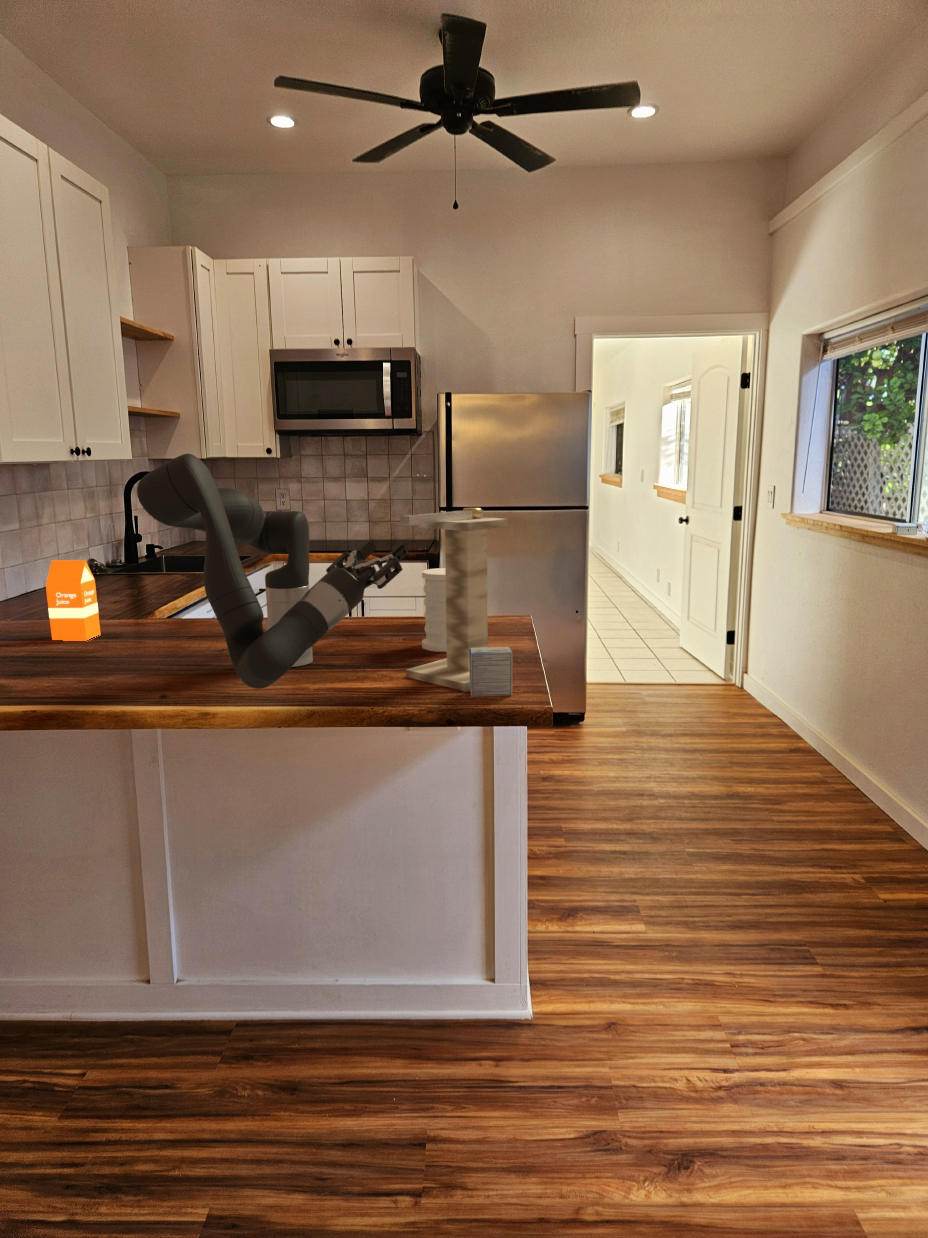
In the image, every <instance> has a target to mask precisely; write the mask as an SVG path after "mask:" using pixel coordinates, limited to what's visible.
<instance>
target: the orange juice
mask: <svg viewBox="0 0 928 1238" xmlns="http://www.w3.org/2000/svg"><path fill="white" fill-rule="evenodd" d="M49 565H50V566H49V570H48V575H47V578H46V579H47V580H46V584H45V589H46V590H45V591H46V599H47V606H48V608H47V610H48V618H49V623H50V633H51V634H50V635H51V639H52V640H63V641H87V640H89V639H91V638H93V637H95V638H97V637H99V636H101V626H100V616H99V606H98V605H99V603H98V599H97V589H96V588H97V587H96V580H95V577H94V575H93V573H92V570H91V569H90V567H89V565H88V562H87V561H86V559H60V560H59V559H57V560H54V559H52V560H51V563H50V564H49ZM98 635H99V636H98ZM96 636H97V637H96ZM93 639H94V638H93ZM52 640H51V641H52ZM91 640H92V639H91ZM89 641H90V640H89ZM87 642H88V641H87Z"/></svg>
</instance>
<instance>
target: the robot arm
mask: <svg viewBox="0 0 928 1238" xmlns="http://www.w3.org/2000/svg"><path fill="white" fill-rule="evenodd" d="M136 495H137V496H136V497H137V499H138V502H139V503H140V505H141V506H142V508H143V510H144V511H145V512H146V513H147V514H148V515H149V516H150V517H151V518H152V519H154V520H156V521H157V522H158V523H162V524H163V525H166V526H169V527H174V528H183V529H192V530H198V531H202V532H204V533H205V554H204V565H203V586H204V591H205V592H204V593H205V595H206V598H207V600H208V602H209V605H210V606H211V609H212V611H213V613H214V615H215V618H216V619H217V621H218V625H220V627H221V629H222V631H223V634H224V639H225V643H226V646H227V649H228V653H229V656H230V660H231V663H232V665H233V669H234V670H235V672H236V674H237V676H238V678H239V679H240V680H241V682H242V683H243V684H244V685H246V686H247V687H250V688H252V689H256V690H257V689H258V690H260V689H265V688H268V687H270V686H272V685H273V684H274V683H275V682H276V681H278V680H280V679H282V677H283V676H284V675H285V674H287V672H288V671H289V670H290V669H291V668H293V667H296V668H297V667H300V666H301V667H302V666H305V665H308V664H311V663H313V661H314V660H313V659H314V658H313V656H314V655H313V646H314V645H315V644H316V643H318V641H319V640H321V638H323V637H324V636H325V635H326V634H327V633H328V632H329V631H330V630H332V629H333V628H334V627H336V626H337V625H339V624H340V622H341V621H342V620H343V619H345V617H347V615H349V613H350V612H352V611H353V609H354V608H356V607H357V606H358V605H359V604H360V603H361V602H362V600H363V599H364V596H365V595H364V594H365V589H367V588H368V587H370V586H372V585H376V587H377V589H379V590H381V589H383V588H384V587H385V586H387V585H388V584H389V583H390V582H391V581H392V580H393V579H394V578H396V577H397V576H398V575H399V574H400V573H401V572H402V571H403V567H402V565H401V563H400V562H401V561H402V560H403V559H404V558H405V557H406V556H407V555H408V553H409V549H408V547H407V544H406V543H405V542H400V543H398V545H397V546H395V548H393V550H391V551H390V552H389V553H388V554H387V555H385V556H383V557H381V558H380V557H375V558H372V559H370V560H366V559H367V558H369V557H370V556H371V555H372V554H373V553H374V552H375V551H376V550H377V545H376V543H375V541H374V540H373V539H368V540H366V541H365V542H364V543H363V544H362V545H361V546H360V547H359V548H357V549H356V550H352V551H351V552H350V553H349V551H343V553H341V554H340V556H339V557H337V558H336V560H334V561H333V562H332V563H331V564H330V565H329V566H328V567H327V568H326V570H325V571H326V573H325V575H323V577H321V578H320V579H319V580H318V581H317V582H316V583H315V584H314V585H313V586H311V587H310V582H309V581H310V580H309V579H310V526H309V525H310V524H309V522H308V519H307V517H306V515H305V514H304V513H303V512H302V511H298V510H297V511H296V510H263V507H262V505H261V503H260V502H258V501H257V500H256V498H254V497H253V496H251V495H250V494H247V493H245V492H243V491H240V490H238V489H234V488H231V487H230V488H229V487H218V486H217V483H216V481H215V479H214V477H213V475H212V474H211V471H210V470H209V468H208V467H207V466H206V464H205V463H204V462H203V461H202V460H201V459H200V458H198V457H197V456H196V455H194V454H192V453H183V454H181V455H178V456H176V457H175V458H173V459H170V460H169V461H167V462H166V463H164V464H162V465H161V466H158V467H157V468H155V469H153V470H151V471H150V472H148V473H147V474H145V475H144V476H143V477H142V478H141V479H140V480H139V481H138V484H137V487H136ZM235 542H238V543H242V544H248V545H249V546H250V547H251V546H252V547H253V548H255V549H256V550H258V551H260V552H261V553H264V554H269V555H287V561H286V563H285V564H284V565H283V566H281V567H279V568H277V569H273V570H270V571H268V572H267V573H266V574H265V575H264V580H265V581H264V582H265V597H266V598H265V600H266V610H267V611H266V614H267V619H265V628H266V629H265V630H264V626H263V624H264V623H263V622H264V615H265V614H264V612H263V611H264V610H263V609H262V607H261V604H260V602H259V599H258V597H257V595H256V593H255V591H254V590H253V586H252V584H251V583H250V581H249V579H248V576H247V574H246V572H245V569H244V567H243V564H242V561H241V558H240V555H239V553H238V550H237V546H236V543H235ZM344 561H345V564H344V563H343V562H344ZM383 564H384V565H383ZM375 565H376V566H377V567H378V570H377V569H376V567H375Z"/></svg>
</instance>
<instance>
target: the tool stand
mask: <svg viewBox="0 0 928 1238" xmlns="http://www.w3.org/2000/svg"><path fill="white" fill-rule="evenodd" d="M509 523H510V519H509V518H503V517H501V518H499V517H484V516H483V518H481V519H468V520H458V521H448V522H438V523H428V524H418V525H415V526H416V527H415V528H420V529H436V530H437V529H438V530H444V553H445V554H444V555H445V557H444V559H445V560H444V561H445V565H444V566H445V567H444V568H445V572H446V634H447V652H446V657H445V658H443V659H439V660H436V661H431V662H428V663H425V664H421V665H418V666H413V667H410V668H407V669H405V677H406V678H410V679H414V680H418V681H423V682H426V683H429V684H433V685H434V684H435V685H438V686H442V687H446V688H451V689H454V690H458V691H459V690H460V691H463V692H466V691H469V690H470V667H469V649H470V648H480V647H489V646H488V641H489V640H488V636H489V635H488V633H489V632H488V530H489V529H497V528H505V527H506V528H507V527H509V525H510V524H509Z"/></svg>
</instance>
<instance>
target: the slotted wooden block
mask: <svg viewBox="0 0 928 1238" xmlns="http://www.w3.org/2000/svg"><path fill="white" fill-rule="evenodd" d="M483 517H484V509H482V508H481V507H464V508H463V510H453V511H452V510H451V511H445V512H444V511H443V512H432V513H431V512H430V513H421V514H420V513H418V514H411V515H410V514H409V515H400V516H399V525H401V526H416V525H418V524H428V523H438V522H448V521H458V520H468V519H481V518H483Z"/></svg>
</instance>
